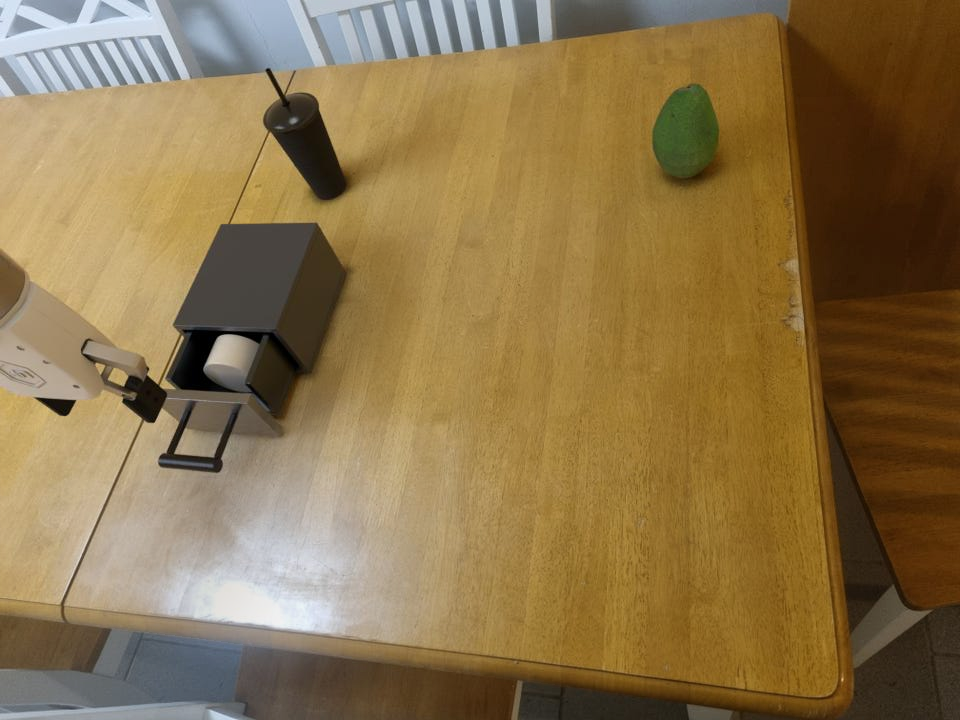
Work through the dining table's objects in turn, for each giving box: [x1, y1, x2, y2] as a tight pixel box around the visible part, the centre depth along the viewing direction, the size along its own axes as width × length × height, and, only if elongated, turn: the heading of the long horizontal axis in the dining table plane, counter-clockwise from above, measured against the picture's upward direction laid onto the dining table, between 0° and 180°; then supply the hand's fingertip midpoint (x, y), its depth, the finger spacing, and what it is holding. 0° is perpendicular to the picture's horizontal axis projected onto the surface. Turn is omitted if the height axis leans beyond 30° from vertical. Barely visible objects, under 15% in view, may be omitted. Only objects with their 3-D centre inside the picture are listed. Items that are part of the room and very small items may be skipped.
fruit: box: [651, 82, 720, 179], centre depth 88 cm, size 8×8×12 cm
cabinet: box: [172, 222, 347, 375], centre depth 90 cm, size 16×14×10 cm
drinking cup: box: [262, 67, 347, 201], centre depth 98 cm, size 8×8×20 cm
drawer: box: [157, 330, 298, 474], centre depth 84 cm, size 21×12×8 cm, turn 169°
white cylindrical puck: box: [204, 334, 260, 392], centre depth 85 cm, size 6×6×4 cm
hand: (114, 405), depth 68 cm, fingers open, 9 cm apart
